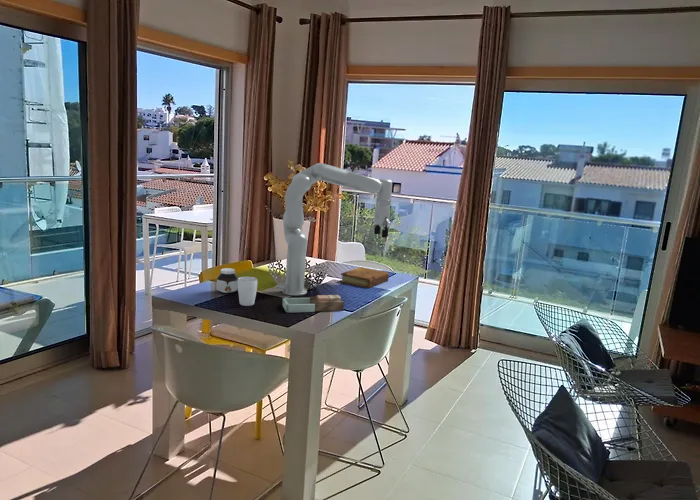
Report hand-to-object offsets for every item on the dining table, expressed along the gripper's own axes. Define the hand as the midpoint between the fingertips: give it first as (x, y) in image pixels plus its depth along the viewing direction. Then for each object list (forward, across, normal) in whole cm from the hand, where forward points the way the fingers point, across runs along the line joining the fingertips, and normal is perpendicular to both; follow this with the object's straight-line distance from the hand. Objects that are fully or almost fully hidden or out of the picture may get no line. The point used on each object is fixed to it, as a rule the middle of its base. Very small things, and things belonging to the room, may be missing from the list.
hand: (380, 235), depth 280 cm
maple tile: (+28, +24, -32) cm, 49 cm away
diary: (+31, -22, +2) cm, 38 cm away
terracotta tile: (+28, +23, -38) cm, 52 cm away
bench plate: (+31, +23, -36) cm, 53 cm away
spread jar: (+31, -10, -76) cm, 82 cm away
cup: (+31, +12, -71) cm, 78 cm away
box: (+31, +22, -49) cm, 62 cm away
